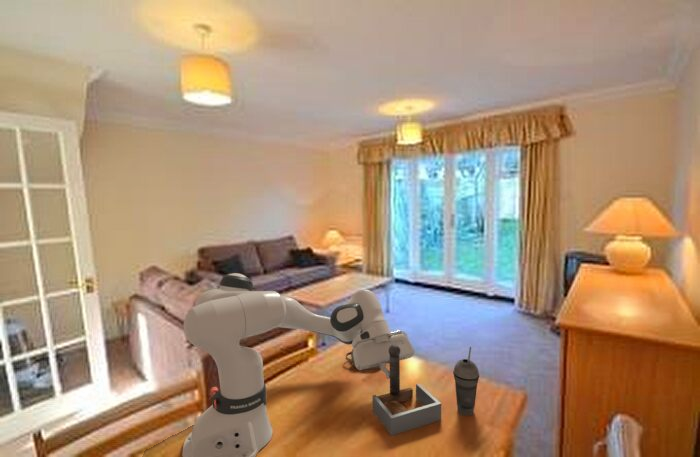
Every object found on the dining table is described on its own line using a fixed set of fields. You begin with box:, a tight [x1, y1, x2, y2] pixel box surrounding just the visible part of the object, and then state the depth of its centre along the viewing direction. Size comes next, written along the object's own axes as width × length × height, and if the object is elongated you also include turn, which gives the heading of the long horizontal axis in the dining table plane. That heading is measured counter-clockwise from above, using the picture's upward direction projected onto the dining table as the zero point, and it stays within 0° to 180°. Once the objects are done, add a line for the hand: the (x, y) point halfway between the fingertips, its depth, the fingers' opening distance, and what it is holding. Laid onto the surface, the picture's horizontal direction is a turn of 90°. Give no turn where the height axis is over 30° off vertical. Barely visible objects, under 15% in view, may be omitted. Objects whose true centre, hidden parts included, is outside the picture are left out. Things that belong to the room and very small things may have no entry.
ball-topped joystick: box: [376, 345, 414, 403], centre depth 109 cm, size 12×4×18 cm, turn 112°
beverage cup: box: [452, 346, 480, 417], centre depth 104 cm, size 7×7×20 cm
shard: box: [383, 401, 409, 415], centre depth 103 cm, size 11×8×2 cm
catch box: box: [371, 383, 442, 436], centre depth 104 cm, size 16×12×5 cm
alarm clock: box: [345, 347, 380, 370], centre depth 136 cm, size 11×5×15 cm
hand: (392, 377), depth 111 cm, fingers closed, pressing on ball-topped joystick
